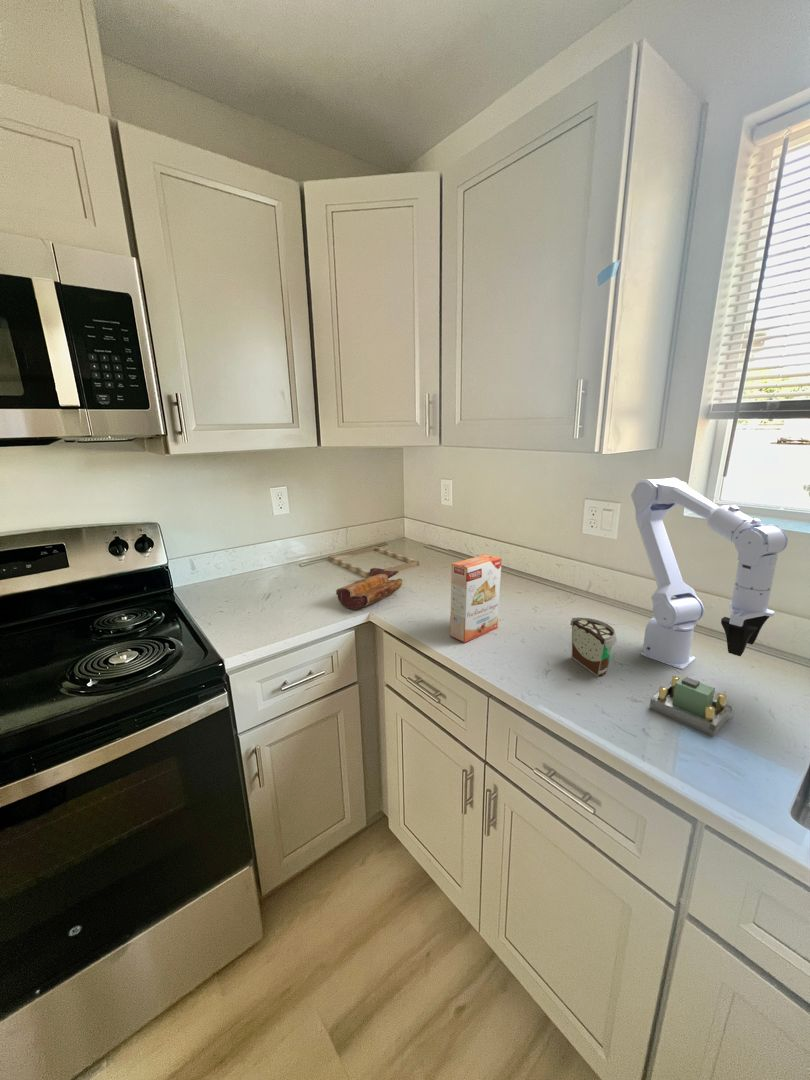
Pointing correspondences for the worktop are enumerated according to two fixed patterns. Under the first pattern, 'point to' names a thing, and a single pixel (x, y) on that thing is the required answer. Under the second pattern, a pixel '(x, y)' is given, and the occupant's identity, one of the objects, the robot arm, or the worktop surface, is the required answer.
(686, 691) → the block
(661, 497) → the robot arm
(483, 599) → the cracker box
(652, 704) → the chassis
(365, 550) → the rim
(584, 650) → the food container
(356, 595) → the cured meat
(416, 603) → the worktop surface
